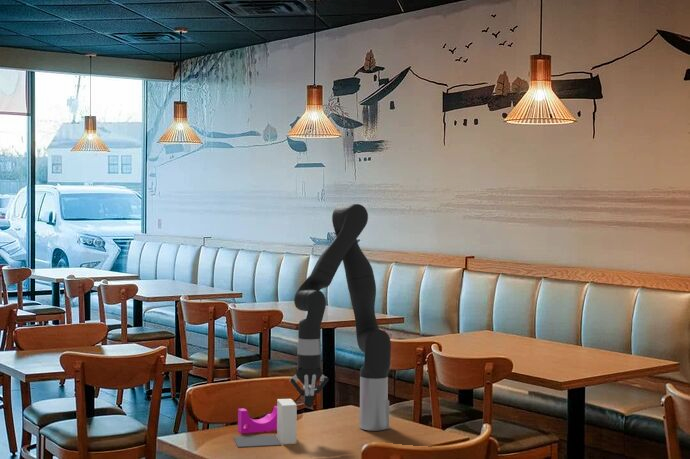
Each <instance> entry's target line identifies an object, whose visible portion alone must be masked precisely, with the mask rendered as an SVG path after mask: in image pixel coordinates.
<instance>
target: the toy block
mask: <svg viewBox="0 0 690 459" xmlns="http://www.w3.org/2000/svg"><path fill="white" fill-rule="evenodd" d="M271 430H277V405H273V410H272V412H271V413H267V414H266V415H265V416H263V417H261V418H260V419H259V418H258V419H253V418H251V417H250V415H249V411H248V410H247V409H246V408H237V432H239V434H241V435H242V433H243V434H253V433H265V432H264V431H266V432H272V431H271Z"/></svg>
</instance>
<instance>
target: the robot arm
mask: <svg viewBox="0 0 690 459" xmlns="http://www.w3.org/2000/svg"><path fill="white" fill-rule="evenodd" d="M368 220H369V214H368V211H367V208H366V207H365V206H363V205H362V204H360V203H351V204H350V203H349V204H342V205H337V207H335V208H334V209H333V212H332V216H331V222H332V227H333V230H334V233H335V236H336V237H335V239H334V240H333V241H332V243H330V244H329V246H327V248H326V249H325V250H324V251H323V252H322V253H321V255H319V257H318V260H317V261H316V263H315V265H314V266H313V269H312V271H311V273H310V274H309V276H308V277H307V278H306V279H305V280H304V281H303V283H301V285H300V286H299V288H298V289H297V290H296V292H295V295H294V299H293V302H294V306H295V308H296V309H297V310H299V311H302V312H307V313H306V316H305V317H306V318H304V319H301V320H299V322H298V333H297V334H298V335H297V336H298V338H297V345H296V346H297V350H296V352H297V354H296V355H297V356H296V357H297V359H296V360H297V361H296V362H297V363H296V371H295V374H294V375H293V376H290V377H289V379H288V380H289V382H290V383H291V384H292V386H293V387H294V388H295V390H296V391H297V392H298V393H299V394H300V395H303V405H304V407H305V408H311V409H312V406H314V403H315V402H314V398H315V395H317V394H320V393H321V391H322V390H323V388H324V387H325V386H326V384H327V383H328V382H329V380H330V379H329V377H328V376H325V375H324V374H323V371H322V340H321V335H322V334H321V328H322V326H321V325H322V323H323V318H324V314H325V312H326V311H325V310H326V306H327V299H326V296H325V294H324V292H322V291H321V290H323V289H326V288H328V287H329V286H330V285H331V284H332V281H333V280H334V277H335V275H336V273H337V272H338V269H339V267H340V265H341V263H343V268H344V272H345V278H346V280H345V281H346V283H347V290H348V292H349V293H348V294H349V298H350V302H351V306H352V310H353V315H354V322H355V323H354V324H355V333H356V342H357V346H358V348H359V349H360V351H361V352H362V353H364V360H363V362H364V363H363V366H362V367H360V371H359V428H360V429H361V430H365V431H373V432H374V431H375V432H376V431H384V430H390V400H389V399H388V394H389V393H388V392H389V391H388V388H389V386H388V385H389V371H390V368H391V367H390V366H391V355H392V353H391V352H392V342H391V337H390V335H389V334H388V332H387V331H385V330H383V329H380V328H379V325H378V321H377V316H376V311H375V308H376V307H375V305H376V304H375V303H376V297H377V296H376V295H377V286H376V278H375V274H374V271H373V267H372V265H371V263H370V261H369V260H368V258H367V257H366V255H365V254H364V251H363V250H362V249H361V247H360V244H359V243H358V237H359V236H360V235H361V234H362V232H363V231H364V229H365V227H366V226H367V224H368ZM298 380H299V382H300V383H301V384H302V388H301V387H300V386H299V384H298ZM319 380H320V381H319ZM318 381H319V383H318ZM317 383H318V384H317ZM316 384H317V385H316Z"/></svg>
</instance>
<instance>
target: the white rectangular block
mask: <svg viewBox="0 0 690 459" xmlns="http://www.w3.org/2000/svg"><path fill="white" fill-rule="evenodd" d="M276 406H277V431H276V436H277V438H278V440H279V441H280V443H281V444H282V445H295V444H297V422H298V421H297V414H298V412H297V410H298V407H297V403H296V402H295V401H294V400H293V399H292V398H277V401H276Z"/></svg>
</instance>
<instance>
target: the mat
mask: <svg viewBox="0 0 690 459" xmlns="http://www.w3.org/2000/svg"><path fill="white" fill-rule="evenodd" d="M232 437H233V440H234V442H235V444H236V447H237V448H255V447H273V446H274V447H276V446H282V445H283V444H282V443H281V442H280V440H279V439H278V437H277V434H260V435H259V434H258V435H257V434H256V435H255V434H254V435H237V436H236V435H235V436H232Z"/></svg>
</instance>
